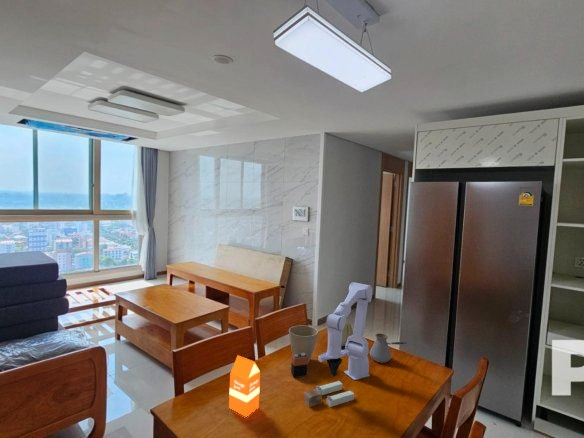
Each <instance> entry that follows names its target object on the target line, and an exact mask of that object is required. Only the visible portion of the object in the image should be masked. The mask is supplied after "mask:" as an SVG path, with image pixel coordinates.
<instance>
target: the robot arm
mask: <svg viewBox="0 0 584 438" xmlns="http://www.w3.org/2000/svg"><path fill="white" fill-rule="evenodd" d="M373 291H374V290H373V287H372V285H371V284H364V283H361V282H360V283H359V282H355V281H352V282H351V283H349V287H348V294H347V296H346V298H345V300H344V301H342V302H340V303H339V304H338V305H337V307H336V309H334V311H333V312H332V313H329V314H328V315H327V317H326V320H325V325H326V330H327V331H328V334H327V348H326V349H327V350H326V352H324V353H321V354H320V355H318V356H317V357H318V358H317V361H318V362H320V363H323V362H325V361H326V363H327V365H328V369H329V374H330V375H331V376H332V377H336V375H337V372H338V369H339V367H340V365H341V364H342V363H343V359H342V358H341V357H345V356H346V357H348V365H347V366H348V367H347V368H348V369H347V370H344V371H343V372H344V374H345V375H347V376H348V377H350V378H351V379H352V380H354V381H356V380H360V379H365V378H368V377H370V373H369V370H370V369H369V368H370V361H369V357H368V355H369V352H370V350H369V341H368V340H367V339H366V338H365V336H364V335H365V329H366V328H365V327H366V319H367V311H368V304H369V303H371V302H372V298H373ZM355 303H357V304H356V311H355V318H354V326H353V335H352V336H350V337H348V339H347V343H346V345H345V347H344V349H342V346H341V343H342V330H343V328H344V326H345V323H346V322H347V318H348V317H349V315H350V313H351V312H352V306H354V304H355Z"/></svg>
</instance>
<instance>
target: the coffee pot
mask: <svg viewBox="0 0 584 438" xmlns="http://www.w3.org/2000/svg"><path fill="white" fill-rule="evenodd" d="M374 336H375V340H374V342H373V345H371V349H370V350H369V351H368V354H369V356H370V357H371V359H372V360H373V361H374V362H376V363H379V362H380V363H381V364H385V362H386V363H388V362H389V361H390V360H391V359H392V357H393V355H392V352H391V350H390V347H389V345H399V346H400V345H404V347H405V348H407V347H408V345H409V343H407V342H405V341H394V342H393V341H391V342H388V341H387V339H388V337H389V336H388V335H387V334H385V333H376V334H374ZM380 363H379V364H380Z"/></svg>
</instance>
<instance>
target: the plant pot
mask: <svg viewBox="0 0 584 438" xmlns="http://www.w3.org/2000/svg"><path fill="white" fill-rule="evenodd" d="M318 333H319V332H318V329H317V328H315V327H313V326H309V325H300V324H299V325H295V326H291V327H290V328H289V329H288V336H289V343H290V347H291V348H290V349H291V352H292V355H294V354H301V353H305V354H306V356H307V357H308V364H309V363H310V362H311V358H312V356H313V353H314V351H315V347H316V343H317V340H318V339H317V338H318Z"/></svg>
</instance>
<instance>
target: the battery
mask: <svg viewBox="0 0 584 438" xmlns="http://www.w3.org/2000/svg"><path fill="white" fill-rule="evenodd" d="M308 364H309V363H308V357H307V356H306V354H305V353H301V354H294V355H293V354H292V355H291V367H290V374H291V375H292V377H293V378H300V377H306V376H308Z"/></svg>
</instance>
